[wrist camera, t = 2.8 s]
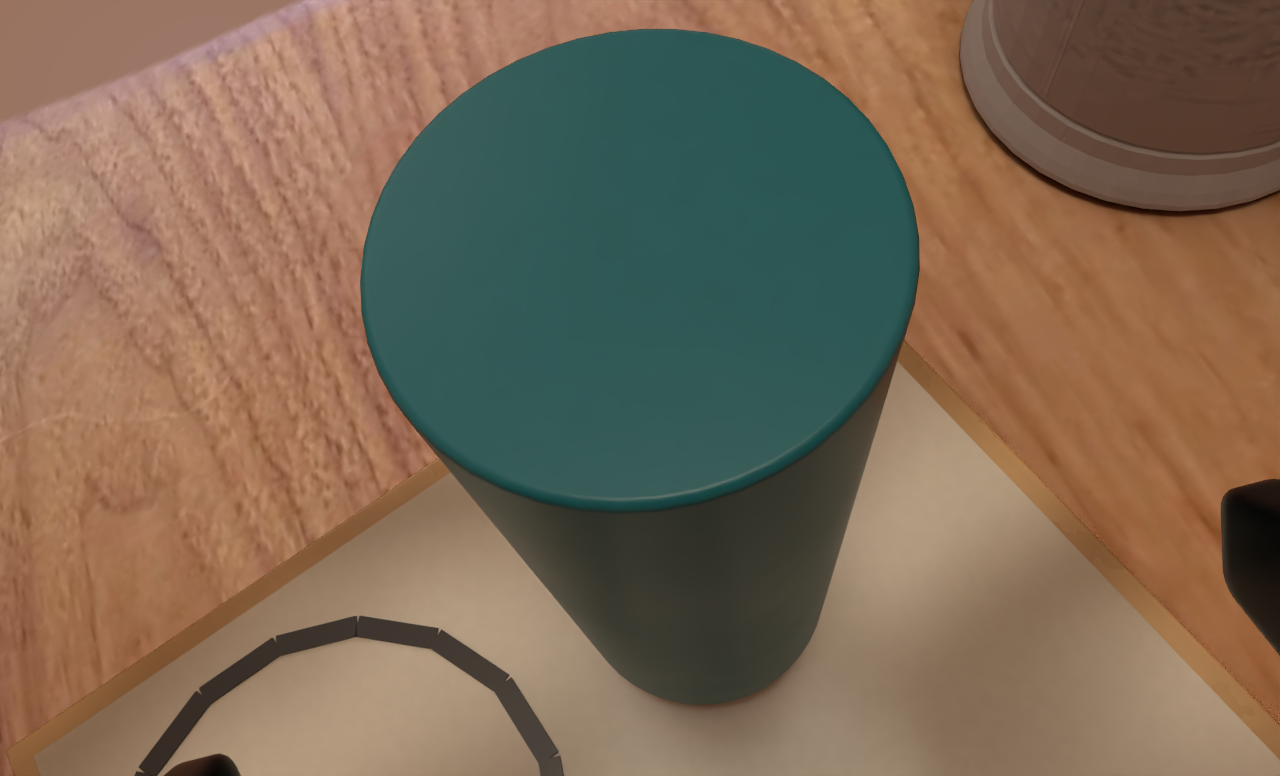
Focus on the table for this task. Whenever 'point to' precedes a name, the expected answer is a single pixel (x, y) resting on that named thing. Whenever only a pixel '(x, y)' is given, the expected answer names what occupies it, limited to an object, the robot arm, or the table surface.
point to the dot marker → (652, 335)
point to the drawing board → (687, 733)
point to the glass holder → (1133, 95)
